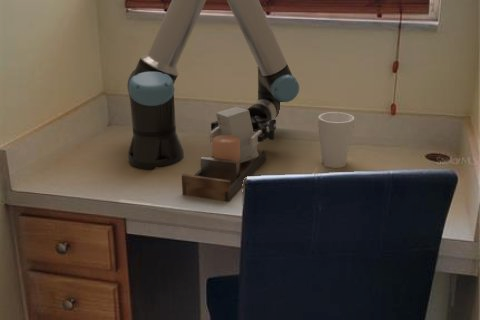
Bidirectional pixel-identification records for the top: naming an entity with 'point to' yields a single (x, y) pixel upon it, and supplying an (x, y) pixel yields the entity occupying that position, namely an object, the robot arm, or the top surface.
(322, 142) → the foam cup
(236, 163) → the pusher plate
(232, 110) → the small box
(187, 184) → the pusher lane
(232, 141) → the terracotta jar
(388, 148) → the top surface
